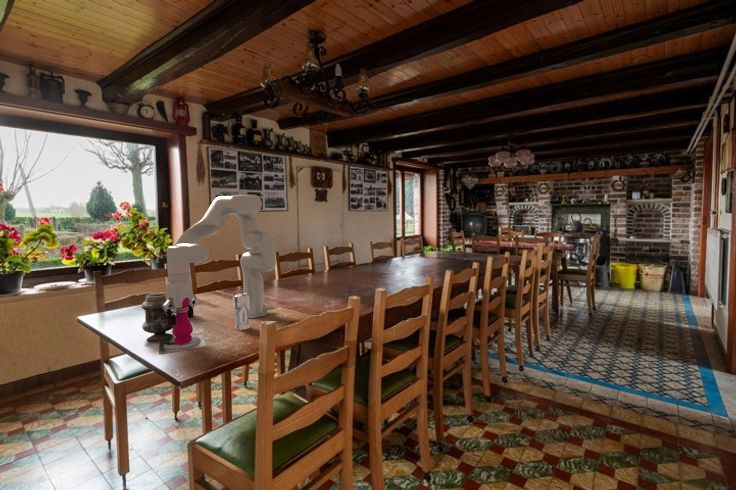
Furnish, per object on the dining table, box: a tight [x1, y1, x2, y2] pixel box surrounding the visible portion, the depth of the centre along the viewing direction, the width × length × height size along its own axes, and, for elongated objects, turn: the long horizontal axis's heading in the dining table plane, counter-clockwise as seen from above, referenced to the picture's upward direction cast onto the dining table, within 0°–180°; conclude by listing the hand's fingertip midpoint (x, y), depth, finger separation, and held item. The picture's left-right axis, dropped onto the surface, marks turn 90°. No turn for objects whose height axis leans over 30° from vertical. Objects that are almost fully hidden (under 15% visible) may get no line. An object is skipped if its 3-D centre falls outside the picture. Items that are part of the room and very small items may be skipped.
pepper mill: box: [171, 297, 194, 344], centre depth 151 cm, size 7×7×20 cm
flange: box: [158, 334, 207, 355], centre depth 151 cm, size 16×16×1 cm
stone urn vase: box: [141, 292, 175, 343], centre depth 157 cm, size 12×12×18 cm
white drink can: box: [232, 292, 250, 331], centre depth 170 cm, size 7×7×15 cm
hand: (181, 321), depth 151 cm, fingers open, 9 cm apart
